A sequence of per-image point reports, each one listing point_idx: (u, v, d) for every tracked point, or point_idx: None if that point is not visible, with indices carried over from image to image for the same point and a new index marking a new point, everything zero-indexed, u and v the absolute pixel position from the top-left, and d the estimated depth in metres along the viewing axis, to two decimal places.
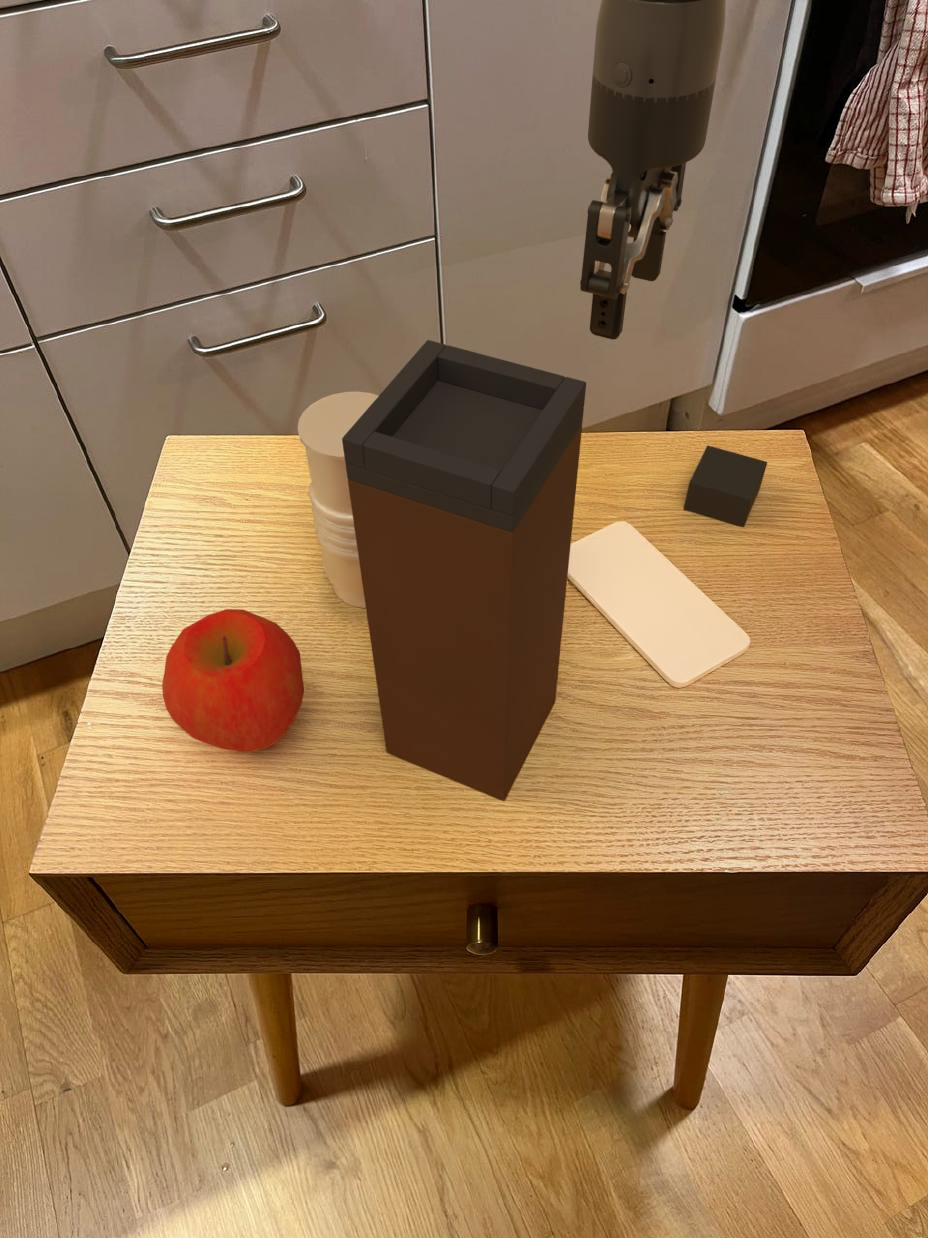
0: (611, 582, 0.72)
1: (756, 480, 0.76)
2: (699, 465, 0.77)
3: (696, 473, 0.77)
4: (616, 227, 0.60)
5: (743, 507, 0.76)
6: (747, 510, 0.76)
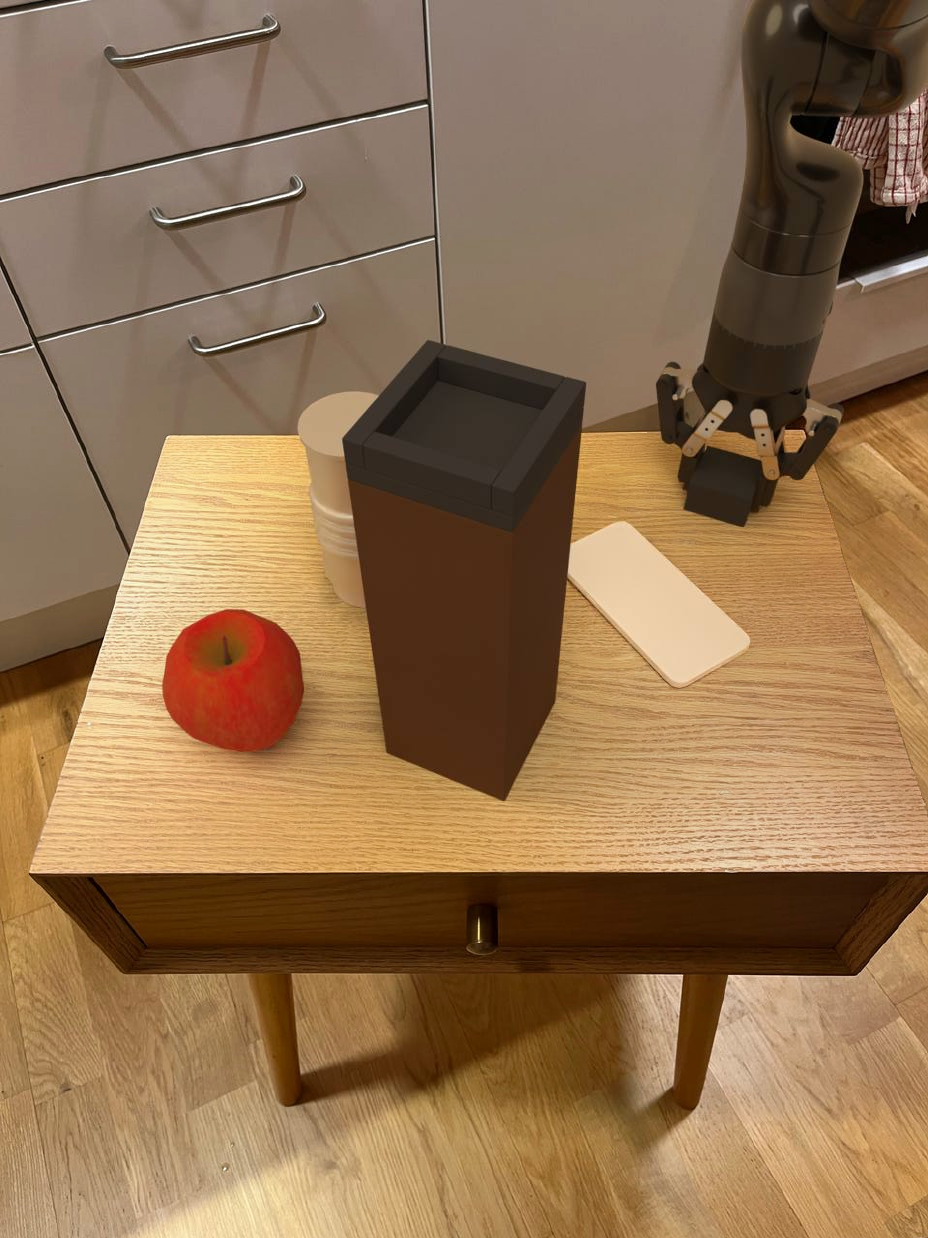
0: (611, 582, 0.72)
1: (756, 480, 0.76)
2: (699, 465, 0.77)
3: (696, 473, 0.77)
4: None
5: (743, 507, 0.76)
6: (747, 510, 0.76)
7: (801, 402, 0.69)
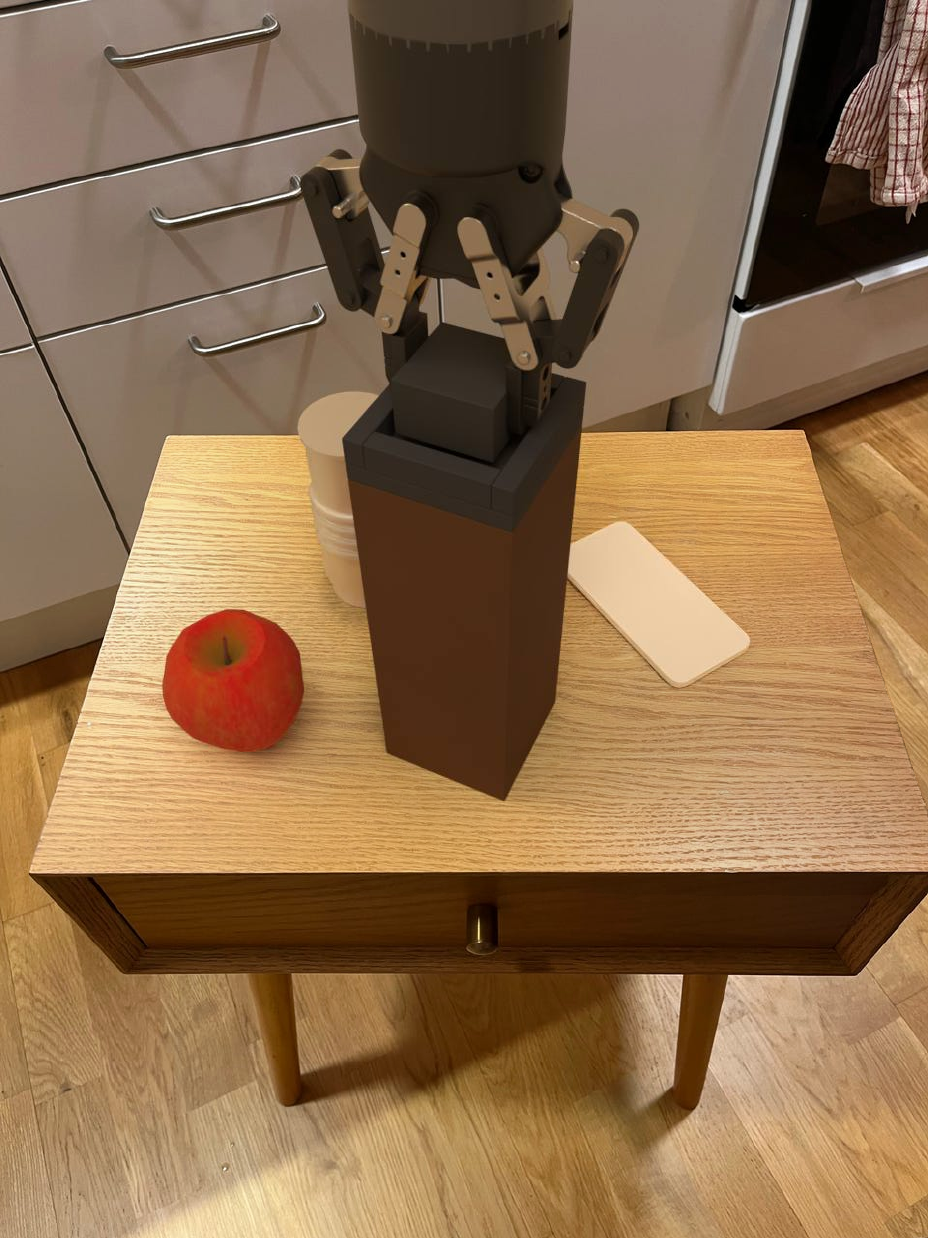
0: (611, 582, 0.72)
1: None
2: (417, 353, 0.43)
3: (407, 365, 0.43)
4: None
5: (484, 424, 0.42)
6: (491, 430, 0.42)
7: (547, 200, 0.35)
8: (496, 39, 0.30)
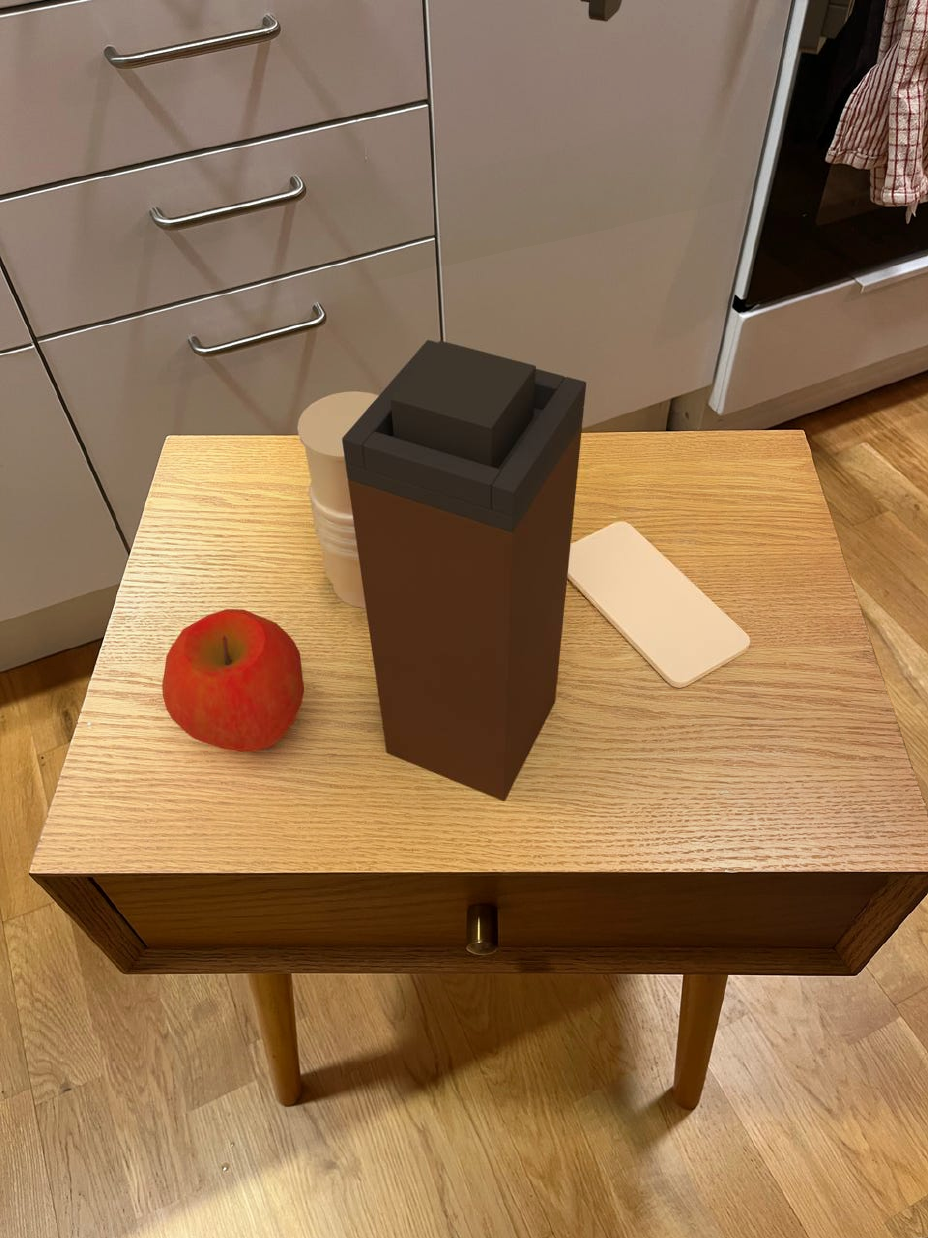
0: (611, 583, 0.72)
1: (509, 395, 0.43)
2: (416, 371, 0.44)
3: (406, 384, 0.44)
4: None
5: (482, 443, 0.42)
6: (489, 448, 0.42)
7: None
8: None
